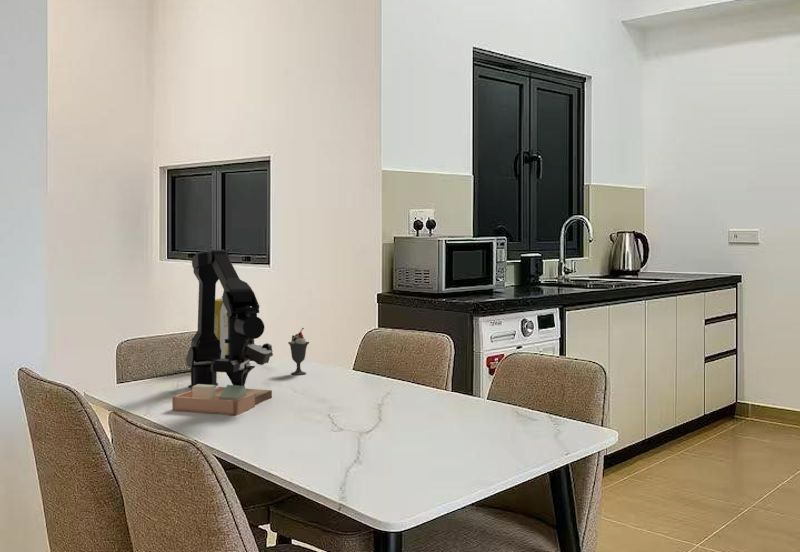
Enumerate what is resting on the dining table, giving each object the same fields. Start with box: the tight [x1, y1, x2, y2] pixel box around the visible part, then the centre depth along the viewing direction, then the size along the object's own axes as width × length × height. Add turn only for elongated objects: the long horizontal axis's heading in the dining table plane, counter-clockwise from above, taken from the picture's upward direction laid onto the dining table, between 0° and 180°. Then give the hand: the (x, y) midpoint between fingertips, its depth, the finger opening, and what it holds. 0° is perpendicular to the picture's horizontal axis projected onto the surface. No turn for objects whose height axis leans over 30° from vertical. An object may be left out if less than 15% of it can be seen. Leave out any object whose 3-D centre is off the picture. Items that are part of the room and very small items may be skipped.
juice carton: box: [207, 296, 228, 362], centre depth 264 cm, size 9×8×24 cm
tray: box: [171, 389, 256, 416], centre depth 202 cm, size 18×10×4 cm, turn 73°
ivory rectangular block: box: [191, 384, 217, 399], centre depth 204 cm, size 5×5×3 cm
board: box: [216, 386, 273, 406], centre depth 212 cm, size 16×12×2 cm
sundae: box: [287, 327, 310, 376], centre depth 252 cm, size 7×7×15 cm
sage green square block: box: [219, 384, 247, 401], centre depth 204 cm, size 5×5×3 cm
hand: (239, 393), depth 206 cm, fingers closed
